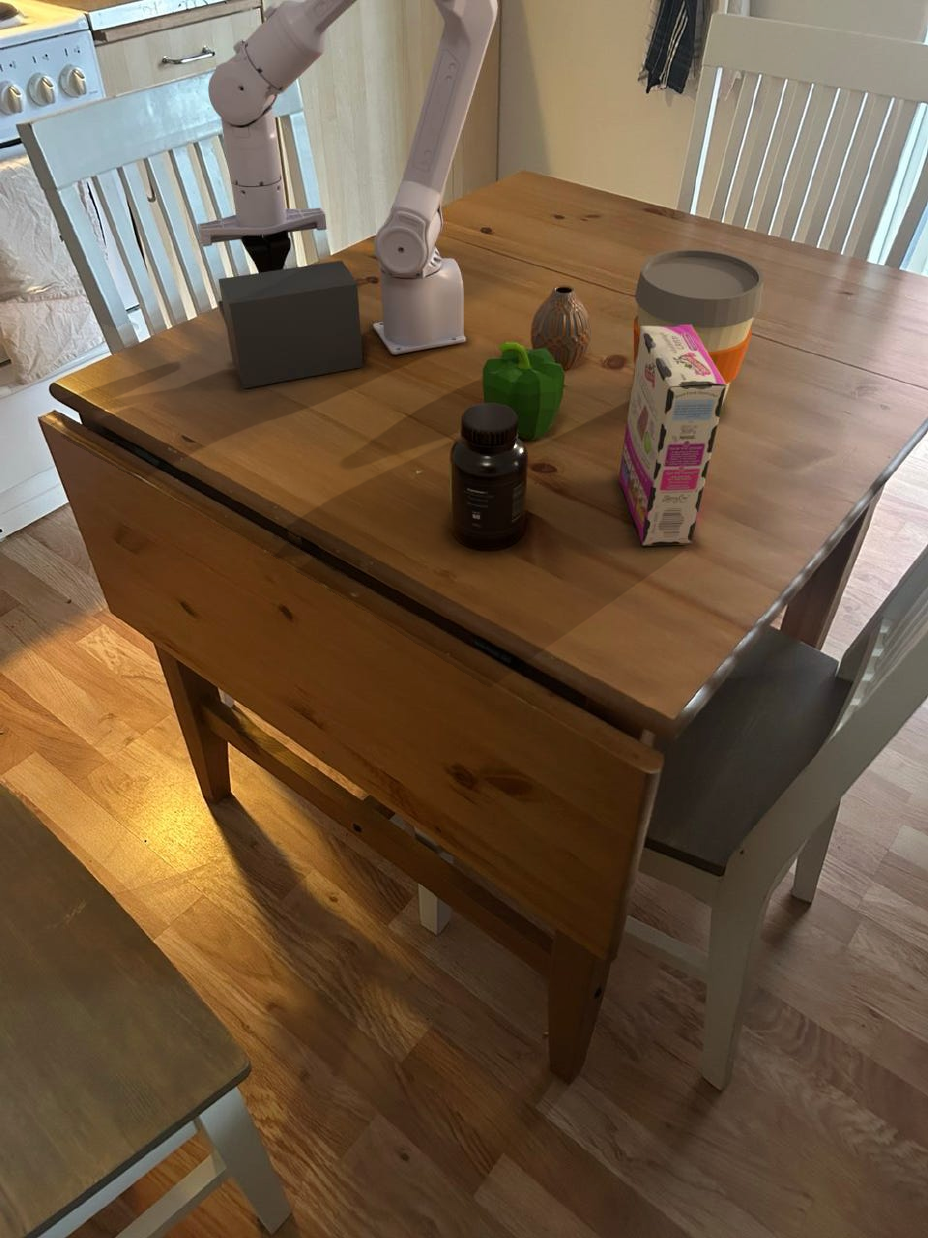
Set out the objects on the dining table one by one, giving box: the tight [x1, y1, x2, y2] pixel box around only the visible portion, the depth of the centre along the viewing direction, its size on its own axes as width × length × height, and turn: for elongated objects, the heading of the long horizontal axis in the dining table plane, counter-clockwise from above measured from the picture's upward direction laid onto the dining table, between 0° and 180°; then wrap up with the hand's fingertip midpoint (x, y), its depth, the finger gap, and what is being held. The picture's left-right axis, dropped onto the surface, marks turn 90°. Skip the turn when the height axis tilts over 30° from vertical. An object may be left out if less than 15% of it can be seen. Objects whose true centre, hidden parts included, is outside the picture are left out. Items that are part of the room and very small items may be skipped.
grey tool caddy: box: [217, 260, 364, 389], centre depth 109 cm, size 10×14×11 cm
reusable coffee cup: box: [633, 248, 764, 405], centre depth 100 cm, size 13×13×15 cm
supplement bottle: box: [449, 402, 529, 551], centre depth 85 cm, size 7×7×12 cm
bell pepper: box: [482, 341, 566, 441], centre depth 99 cm, size 8×8×10 cm
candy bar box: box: [618, 325, 727, 547], centre depth 86 cm, size 11×5×16 cm, turn 5°
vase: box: [530, 284, 592, 370], centre depth 110 cm, size 7×7×9 cm
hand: (272, 295), depth 116 cm, fingers closed
